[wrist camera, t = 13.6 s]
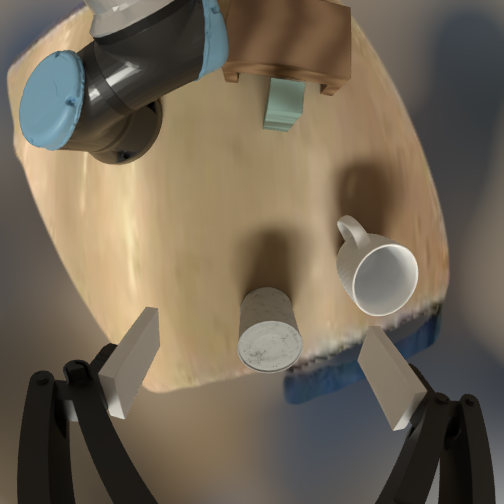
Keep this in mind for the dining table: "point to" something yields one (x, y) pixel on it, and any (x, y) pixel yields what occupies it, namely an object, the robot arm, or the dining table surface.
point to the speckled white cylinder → (268, 331)
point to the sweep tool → (283, 103)
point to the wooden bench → (290, 41)
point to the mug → (375, 269)
